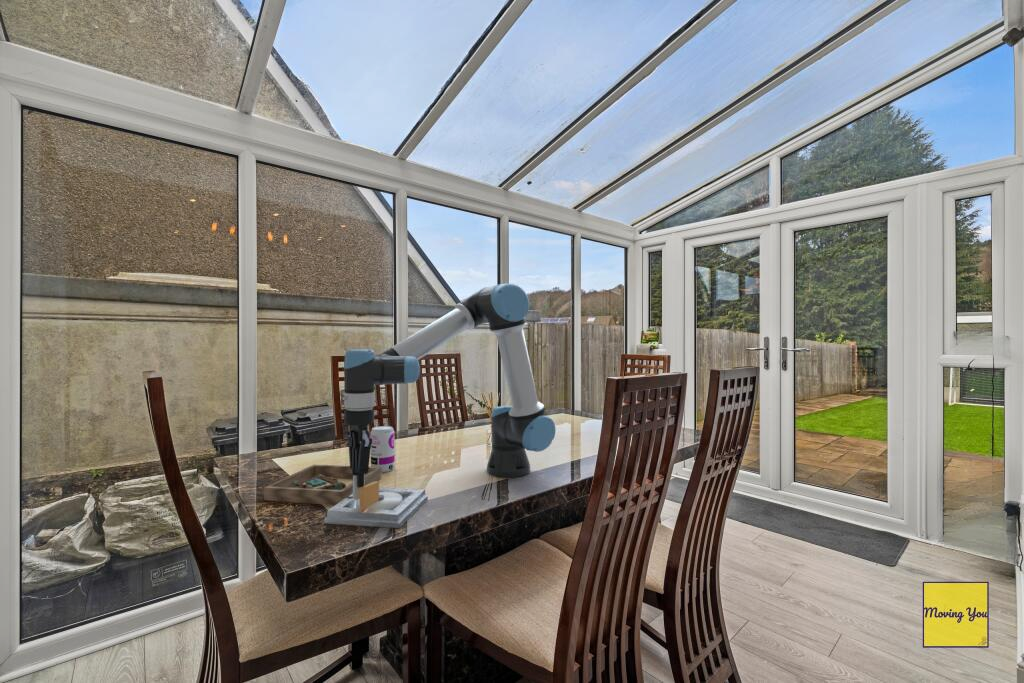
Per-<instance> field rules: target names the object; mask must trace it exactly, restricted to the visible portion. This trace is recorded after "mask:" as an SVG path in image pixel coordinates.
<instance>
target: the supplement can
mask: <svg viewBox="0 0 1024 683" xmlns="http://www.w3.org/2000/svg"><path fill="white" fill-rule="evenodd" d="M369 437H370V438H371V439H372V444H371V449H370V467H382V473H388V472H392V471H393V470H394V469H395V466H396V463H395V461H396V460H395V459H396V457H395V456H396V454H395V450H396V448H395V430H394V428H393V426H388V425H384V426H383V425H381V426H375V427H372V428H371V431H370V432H369ZM370 438H369V439H370Z"/></svg>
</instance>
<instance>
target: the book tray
mask: <svg viewBox="0 0 1024 683" xmlns="http://www.w3.org/2000/svg"><path fill="white" fill-rule="evenodd" d="M352 473H353V472H352V469H350V465H338V464H337V465H334V464H315V463H314V464H312V465H310V466H307V467H305V468H303V469H301V470H299V471H297V472H295V473H292V474H291V475H287V476H286V477H284V478H282V479H278V481H276V482H274V483H270V484H269V485H266V486H264V487H263V501H269V502H283V503H285V502H286V503H299V504H313V505H314V504H316V505H326V506H335V505H336V504H338V503H339V502H341V501H342V500H344V499H345V498H347V497H348V496H350V495H351V494H353V482H352V483H350V484H348V485H346V487H345V488H343V489H342V490H329V489H310V488H298V487H296V486H294V485H292V482H294V481H298V480H305V479H309V478H313V477H315V476H319V475H323V476H326V477H328V478H329V477H332V478H340V479H342V478H343V479H353V475H352ZM382 479H383V478H382V467H371V466H369V469H368V473H366V474H365V485H367V484H370V483H372V482H374V481H378V482H380V481H381V480H382Z"/></svg>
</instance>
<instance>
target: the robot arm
mask: <svg viewBox="0 0 1024 683" xmlns="http://www.w3.org/2000/svg"><path fill="white" fill-rule="evenodd" d="M528 311H530V299H529V296H528V294H527V293H526V291H525V290H524V289H523V288H522V287H520V286H519V285H517V284H515V283H499V284H496V285H491V286H485V287H482V288H480V289H478V290H476V291H475V292H473V293H472V294H471V295H469V296H467V297H466V298H464V299H463V300H462V301H459V302H458V303H457V304H455V306H454V309H453V310H451V311H449V312H447V313H446V314H444V315H443V316H441V317H439V318H437V319H436V320H435V321H433V322H431V323H429V324H428V325H426V326H425V327H423V328H421V329H420V330H418V331H416V332H415V333H413V334H411V335H409V336H408V337H406V338H404V339H403V340H401V341H399V342H398V343H396V344H395V345H393V346H392V347H390V348H388V349H386V350H384V351H383V352H382V353H380V354H379V353H377V354H376V353H375V350H374V349H372V348H369V349H365V348H364V349H362V348H361V349H357V348H356V349H354V348H353V349H348V350H346V351H345V353H344V365H343V374H344V375H343V376H344V378H343V379H344V382H343V383H344V391H343V392H344V394H343V395H344V396H342V398H341V399H342V401H343V406H344V408H345V409H344V410H343V423H344V424H345V425H347V426H350V430H349V431H346V436H347V442H348V458H349V466H350V469H352V472H353V473H352V475H353V478H352V483H353V499H354V500H357V499H360V488H361V487H363V486H365V474H366V473H368V469H369V467H370V460H371V444H372V439H371V438H369V437H370V432H369V428H368V426H369V425H371V424H373V423H374V422H375V409H374V407H375V405H376V404H375V403H376V402H375V401H376V400H375V399H376V398H375V397H376V396H375V395H376V393H375V386H379V385H400V384H401V385H402V384H403V385H407V384H413V383H416V382H417V381H418V380H419V378H420V373H421V372H420V371H421V369H420V368H421V367H420V363H419V360H420V359H422V358H424V357H425V356H427V355H428V354H430V353H432V352H433V351H435V350H436V349H437V348H439V347H441V346H443V345H444V344H446V343H447V342H449V341H450V340H452V339H454V338H455V337H456V336H458V335H460V334H461V333H463V332H464V331H467V330H470V331H471V330H473V329H475V328H476V327H479V326H481V325H483V324H488V325H489V326H488V327H489V330H490V332H491V333H493V334H494V335H495V336H496V340H497V344H498V349H499V352H500V353H499V354H500V357H501V358H500V359H501V362H502V367H503V371H504V372H503V373H504V376H505V380H506V381H505V382H506V385H507V391H508V394H509V398H510V403H511V405H502V406H495V407H493V408H492V410H491V417H490V420H491V452H490V455H489V458H488V461H487V464H486V473H487V474H488V475H489V476H493V477H496V478H503V479H504V478H520V477H524V476H526V475H529V474H530V473H531V464H530V460H529V457H528V454H527V451H529V452H532V451H533V452H536V453H537V452H538V453H539V452H543V451H545V450H547V449H548V448H549V447H550V446H551V444H552V442H553V440H554V439H555V436H556V430H557V429H556V424H555V422H554V420H553V419H552V418H551V417H549V416H548V415H547V414H546V410H545V405H544V404H543V403H542V402H540V401H539V399H538V395H537V389H536V385H535V381H534V380H535V379H534V375H533V371H532V365H531V362H530V361H531V360H530V357H529V352H528V347H527V341H526V338H525V337H526V336H525V332H524V328H525V327H526V325H527V319H526V316H527V315H528ZM526 450H527V451H526Z"/></svg>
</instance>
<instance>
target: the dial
mask: <svg viewBox="0 0 1024 683" xmlns="http://www.w3.org/2000/svg"><path fill="white" fill-rule="evenodd" d="M379 487H380V481H374V482H372V483H370V484H367V485H365V486H363V487H361V488H360V499H357V500H356V508H361V509H365V508H368V509H378V510H394V509H395V508H396V507H397V506H398V505H400V504H401V503H402V496H401V495H400V494H398V493H394V492H379Z"/></svg>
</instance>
